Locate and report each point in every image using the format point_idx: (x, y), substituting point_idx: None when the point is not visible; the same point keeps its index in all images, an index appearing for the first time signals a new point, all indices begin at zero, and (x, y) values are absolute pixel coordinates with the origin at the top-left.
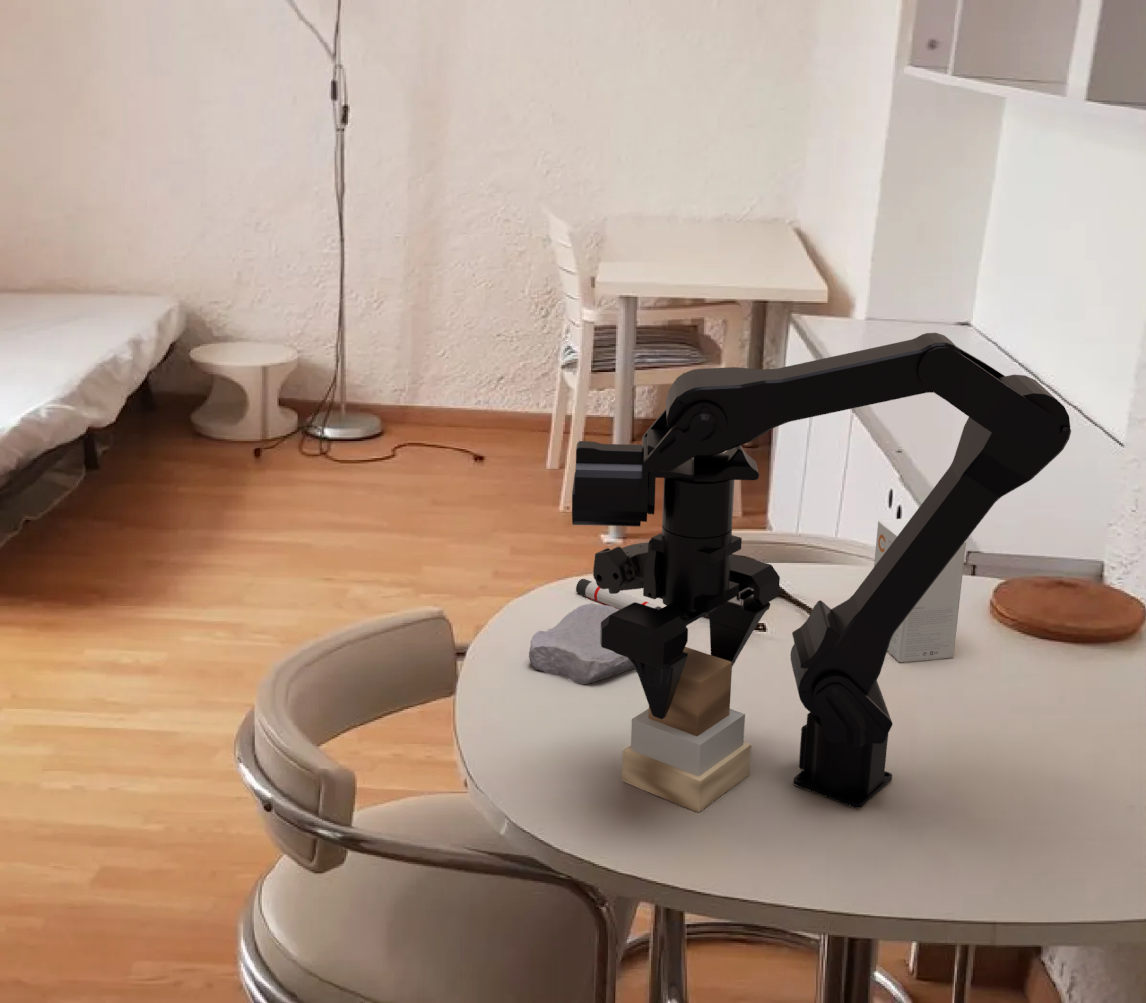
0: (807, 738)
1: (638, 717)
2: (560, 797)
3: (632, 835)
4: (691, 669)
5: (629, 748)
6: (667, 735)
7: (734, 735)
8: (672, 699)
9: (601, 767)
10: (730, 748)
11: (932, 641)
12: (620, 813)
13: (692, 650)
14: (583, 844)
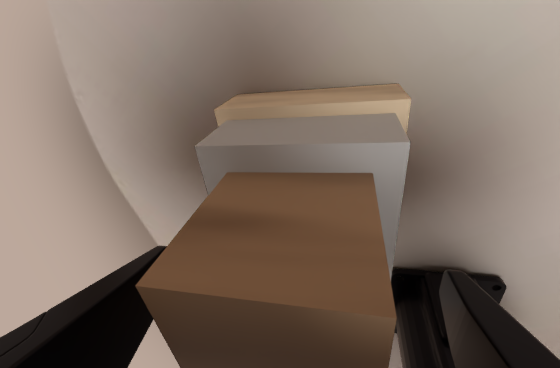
0: (431, 331)
1: (212, 152)
2: (135, 53)
3: (169, 183)
4: None
5: (228, 114)
6: None
7: None
8: (149, 326)
9: (242, 32)
10: None
11: None
12: (184, 146)
13: (377, 353)
14: (113, 154)
